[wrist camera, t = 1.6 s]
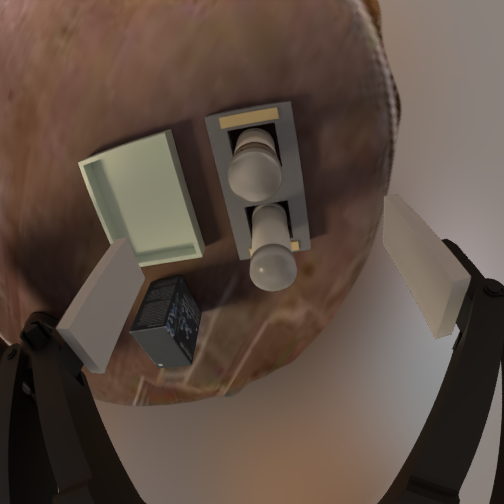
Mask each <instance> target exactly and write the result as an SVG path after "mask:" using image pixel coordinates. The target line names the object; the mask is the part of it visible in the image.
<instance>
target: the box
mask: <svg viewBox="0 0 504 504" xmlns="http://www.w3.org/2000/svg"><path fill="white" fill-rule="evenodd" d="M201 315H202V312H201V311H200V309H199V307H198V305H197V303H196V302H195V300H194V298H193V296H192V294H191V293H190V291H189V289H188V287H187V285H186V283H185V281H184V279H183V277H182V276H177V277H173V278H168V279H164V280H160V281H156V282H152V283H150V286H149V288H148V290H147V292H146V295H145V297H144V299H143V301H142V304H141V306H140V308H139V311H138V313H137V315H136V318H135V320H134V322H133V325H132V327H131V330H130V334H131V335H132V336H133V337H134V338H135V340H136V341H137V342H138V343H139V345H140V346H141V347H142V348H143V350H144V351H145V352H146V353H147V355H148V356H149V357H150V358H151V360H152V361H153V362H154V363H155V365H156V366H157V367H158V368H159V369H160V368H169V367H179V366H187V365H192V361H193V356H194V351H195V346H196V340H197V335H198V330H199V325H200V320H201Z"/></svg>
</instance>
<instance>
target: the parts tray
mask: <svg viewBox="0 0 504 504" xmlns="http://www.w3.org/2000/svg"><path fill="white" fill-rule="evenodd" d="M78 164H79V167H80V170H81V172H82V175H83V178H84V181H85V183H86V186H87V189H88V191H89V194H90V197H91V199H92V202H93V204H94V207H95V209H96V212H97V214H98V217H99V219H100V221H101V224H102V226H103V228H104V231H105V233H106V235H107V238H108V240H109V242H110V244H111V245H112V243H113V242H114V241H115V239H120V238H125V237H127V239H128V241H129V243H130V246H131V248H132V250H133V253H134V255H135V257H136V259H137V262H138V264H139V266H140V267H143V266H149V265H155V264H162V263H168V262H174V261H181V260H187V259H193V258H200V257H203V253H204V250H205V244H204V241H203V238H202V234H201V231H200V228H199V225H198V221H197V218H196V215H195V212H194V208H193V205H192V202H191V198H190V195H189V192H188V188H187V185H186V181H185V178H184V174H183V171H182V167H181V164H180V160H179V157H178V153H177V149H176V146H175V142H174V139H173V135H172V131H171V129H169V130H166V131H162V132H159V133H155V134H152V135H149V136H146V137H142V138H139V139H136V140H133V141H130V142H127V143H124V144H121V145H118V146H116V147H113V148H110V149H107V150H105V151H102V152H99V153H97V154H94V155H91V156H89V157H87V158H85V159H83V160H82V161H80V162H78Z"/></svg>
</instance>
